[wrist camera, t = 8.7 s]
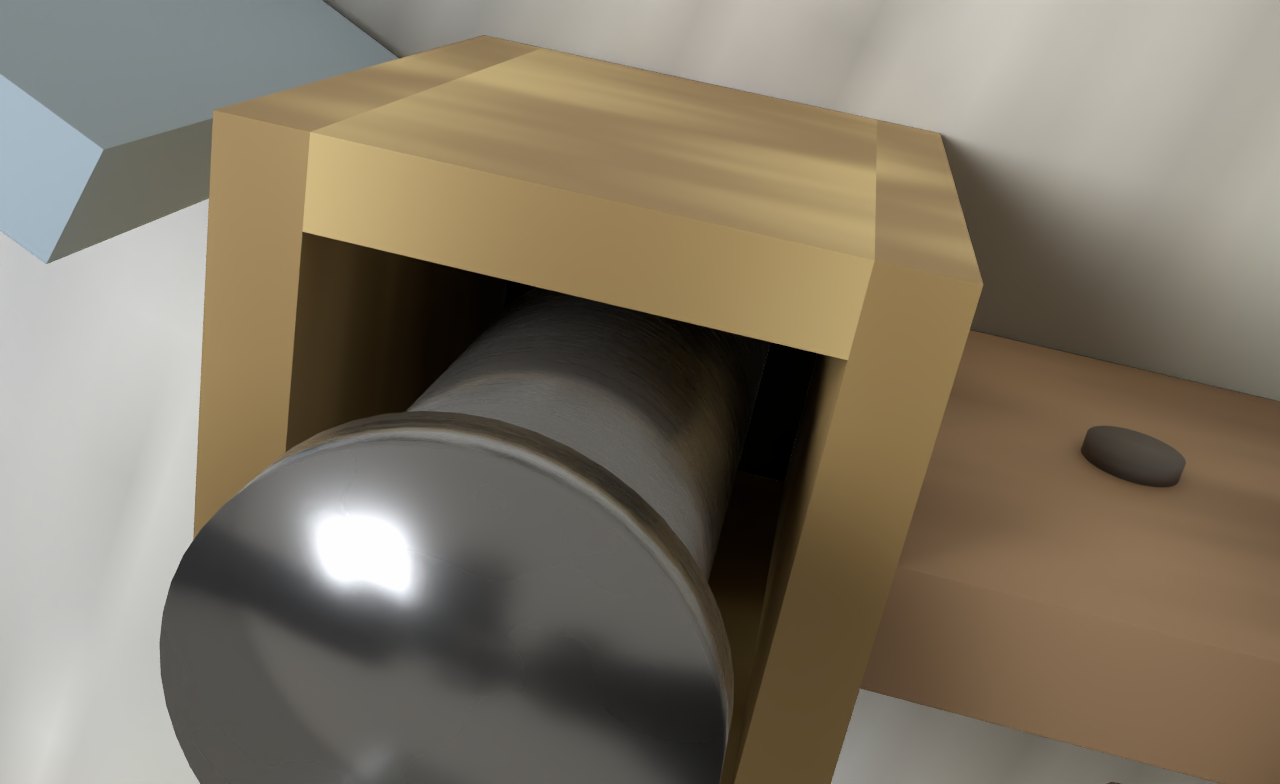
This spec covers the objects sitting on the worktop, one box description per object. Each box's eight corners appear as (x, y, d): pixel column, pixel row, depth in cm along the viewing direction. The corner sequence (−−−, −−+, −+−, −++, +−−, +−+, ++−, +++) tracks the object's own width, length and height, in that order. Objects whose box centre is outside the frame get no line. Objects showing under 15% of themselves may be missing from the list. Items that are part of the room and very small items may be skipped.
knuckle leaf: (1787, 315, 14) (2534, 638, 8) (1548, 725, 17) (1973, 1235, 10) (484, 35, 16) (214, 111, 9) (430, 444, 18) (185, 729, 12)
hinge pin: (838, 195, 16) (783, 537, 7) (773, 456, 17) (660, 1011, 8) (556, 133, 16) (168, 382, 7) (516, 392, 18) (151, 860, 9)
